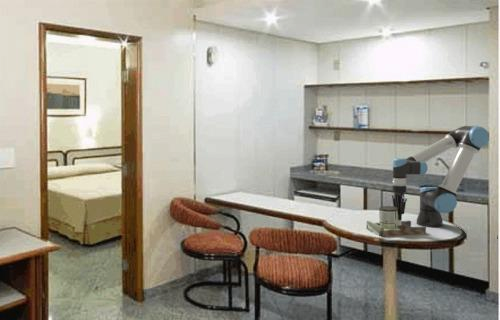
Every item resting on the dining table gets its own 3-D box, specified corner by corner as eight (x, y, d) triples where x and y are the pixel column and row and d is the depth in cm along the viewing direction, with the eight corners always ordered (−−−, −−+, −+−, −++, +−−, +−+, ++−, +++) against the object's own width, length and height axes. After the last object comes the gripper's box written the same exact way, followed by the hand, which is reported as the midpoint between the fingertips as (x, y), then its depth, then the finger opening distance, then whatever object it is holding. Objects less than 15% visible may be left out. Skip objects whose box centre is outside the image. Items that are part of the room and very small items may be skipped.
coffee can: (376, 229, 273) (377, 206, 272) (393, 229, 274) (394, 205, 273) (382, 234, 263) (382, 209, 262) (400, 233, 264) (400, 209, 262)
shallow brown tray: (409, 226, 281) (409, 218, 280) (425, 233, 264) (426, 224, 263) (366, 229, 275) (366, 221, 275) (380, 236, 258) (380, 227, 258)
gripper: (387, 183, 273) (387, 223, 275) (399, 186, 260) (398, 228, 263) (399, 183, 275) (398, 222, 277) (411, 186, 262) (410, 227, 264)
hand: (398, 225), depth 270 cm, fingers closed
